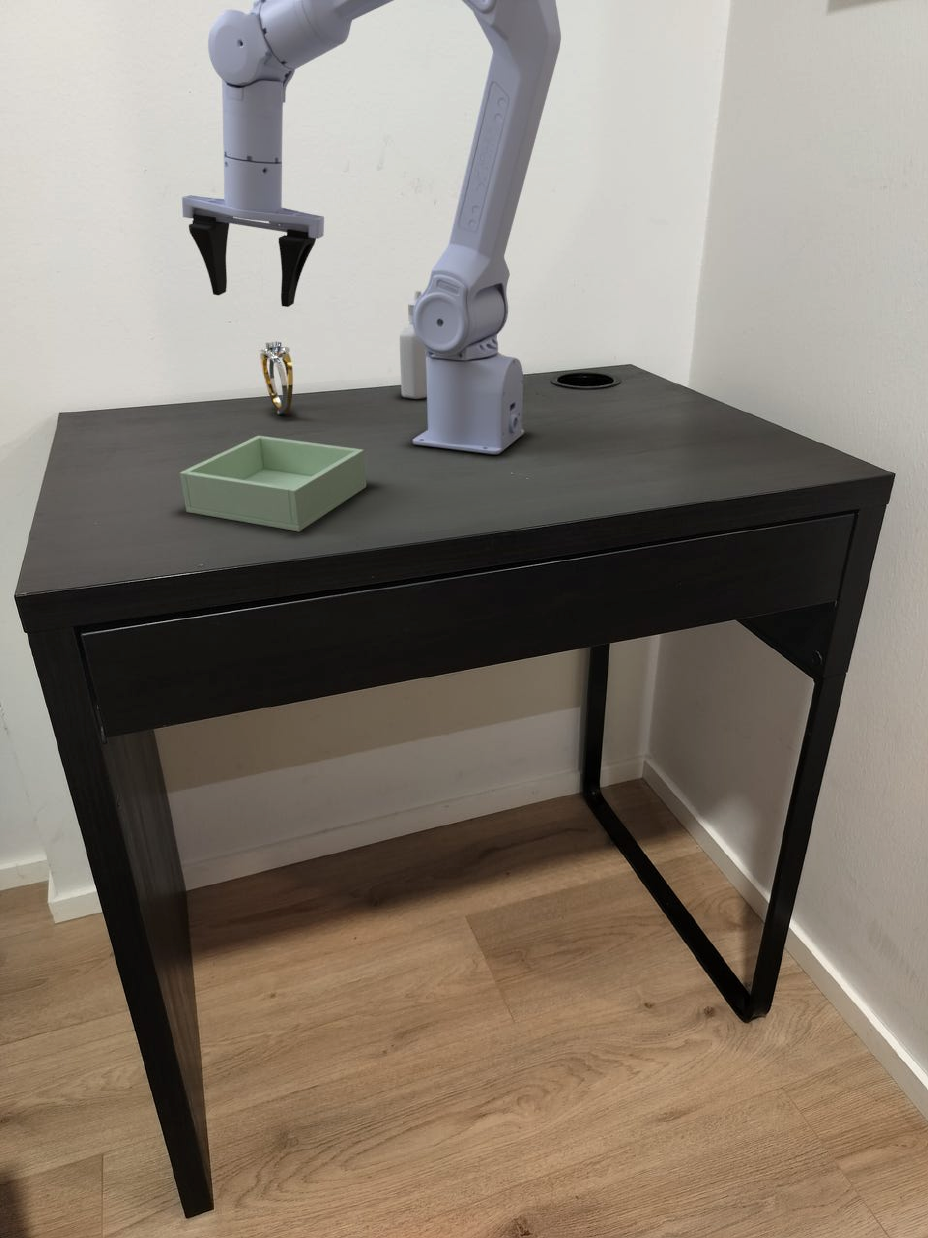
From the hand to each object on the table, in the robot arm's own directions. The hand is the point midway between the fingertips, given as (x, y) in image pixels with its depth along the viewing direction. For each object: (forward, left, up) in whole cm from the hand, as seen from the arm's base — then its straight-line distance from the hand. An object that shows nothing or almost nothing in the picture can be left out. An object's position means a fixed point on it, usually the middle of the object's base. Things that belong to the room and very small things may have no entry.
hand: (253, 298), depth 95 cm
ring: (-2, 0, -13) cm, 13 cm away
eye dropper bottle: (-13, -14, -13) cm, 23 cm away
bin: (-17, +23, -12) cm, 31 cm away
